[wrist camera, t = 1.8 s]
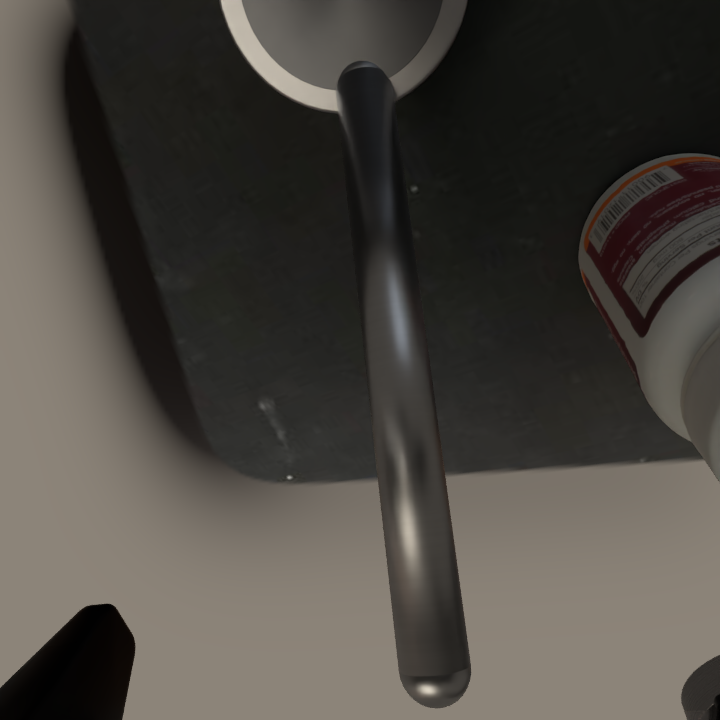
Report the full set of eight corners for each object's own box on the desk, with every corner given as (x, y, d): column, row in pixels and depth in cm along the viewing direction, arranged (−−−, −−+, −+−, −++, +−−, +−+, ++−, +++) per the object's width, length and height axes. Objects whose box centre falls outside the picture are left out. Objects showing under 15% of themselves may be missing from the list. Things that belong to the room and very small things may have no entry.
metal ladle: (212, -128, 14) (-196, -309, 5) (445, -196, 13) (531, -589, 4) (348, 379, 20) (295, 731, 11) (509, 355, 20) (599, 714, 10)
